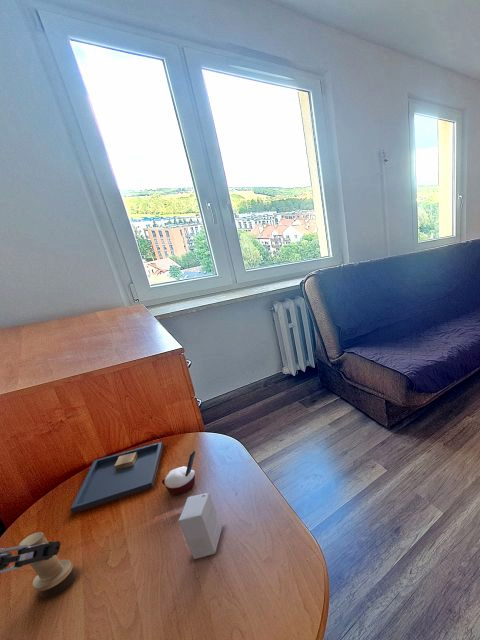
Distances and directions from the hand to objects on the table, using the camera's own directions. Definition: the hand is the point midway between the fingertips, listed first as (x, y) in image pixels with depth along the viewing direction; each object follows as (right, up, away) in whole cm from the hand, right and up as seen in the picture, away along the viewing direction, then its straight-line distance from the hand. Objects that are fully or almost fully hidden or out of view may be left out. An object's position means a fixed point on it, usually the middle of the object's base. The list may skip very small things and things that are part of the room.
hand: (28, 553), depth 61 cm
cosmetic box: (+25, -7, +13) cm, 29 cm away
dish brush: (0, -10, +5) cm, 11 cm away
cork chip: (-13, +2, +34) cm, 36 cm away
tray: (-10, 0, +30) cm, 32 cm away
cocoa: (+10, -2, +27) cm, 28 cm away
